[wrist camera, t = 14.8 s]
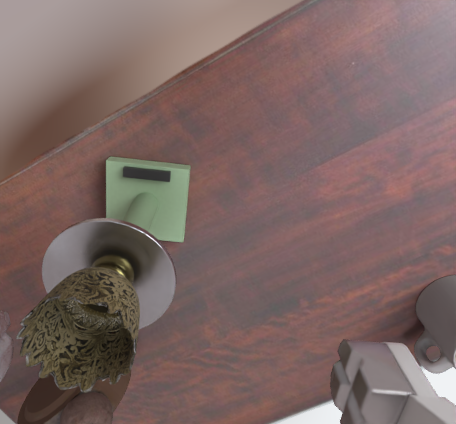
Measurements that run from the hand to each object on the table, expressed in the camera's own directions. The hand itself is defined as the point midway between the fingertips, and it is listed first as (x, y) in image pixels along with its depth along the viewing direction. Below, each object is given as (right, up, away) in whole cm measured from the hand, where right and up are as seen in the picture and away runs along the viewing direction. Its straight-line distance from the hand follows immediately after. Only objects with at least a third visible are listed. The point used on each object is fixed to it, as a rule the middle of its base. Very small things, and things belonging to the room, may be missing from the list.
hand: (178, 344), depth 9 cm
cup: (-9, -2, +22) cm, 24 cm away
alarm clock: (-19, -18, +50) cm, 56 cm away
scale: (-9, +5, +40) cm, 41 cm away
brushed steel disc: (-9, -2, +23) cm, 25 cm away
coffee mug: (+33, -11, +48) cm, 59 cm away
